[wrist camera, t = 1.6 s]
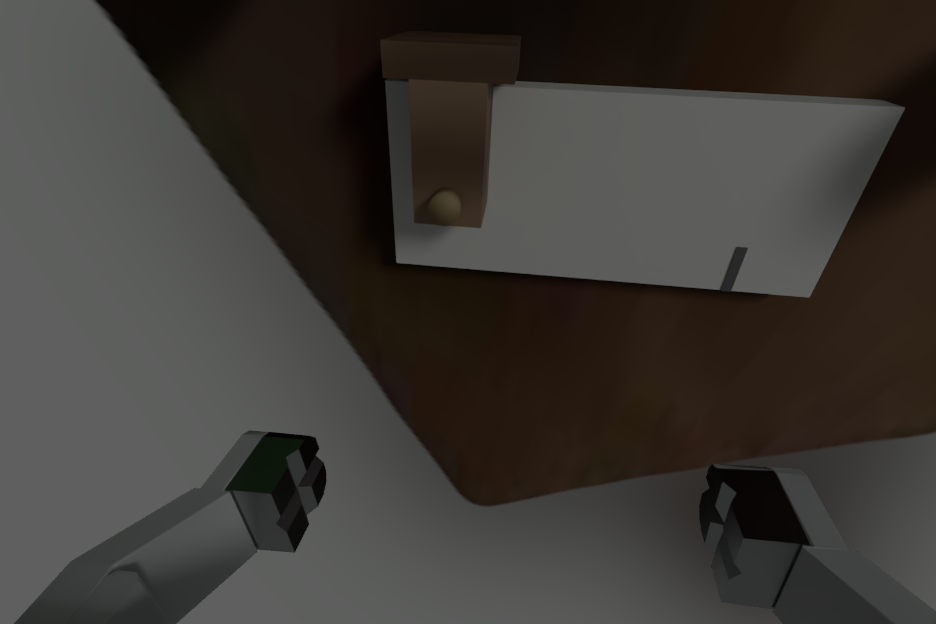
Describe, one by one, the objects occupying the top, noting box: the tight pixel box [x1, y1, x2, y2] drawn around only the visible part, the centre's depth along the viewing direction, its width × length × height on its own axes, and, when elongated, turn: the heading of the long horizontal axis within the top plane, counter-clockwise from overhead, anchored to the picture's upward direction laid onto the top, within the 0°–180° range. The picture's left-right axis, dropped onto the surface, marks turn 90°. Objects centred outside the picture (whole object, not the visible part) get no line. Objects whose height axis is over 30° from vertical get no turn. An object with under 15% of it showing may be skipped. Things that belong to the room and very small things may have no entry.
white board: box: [385, 78, 905, 297], centre depth 29 cm, size 11×26×2 cm, turn 88°
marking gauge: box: [380, 31, 521, 228], centre depth 25 cm, size 8×6×7 cm
